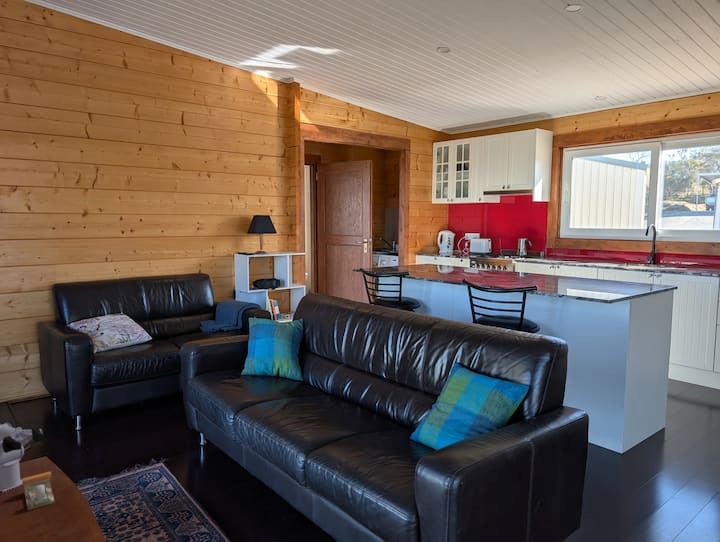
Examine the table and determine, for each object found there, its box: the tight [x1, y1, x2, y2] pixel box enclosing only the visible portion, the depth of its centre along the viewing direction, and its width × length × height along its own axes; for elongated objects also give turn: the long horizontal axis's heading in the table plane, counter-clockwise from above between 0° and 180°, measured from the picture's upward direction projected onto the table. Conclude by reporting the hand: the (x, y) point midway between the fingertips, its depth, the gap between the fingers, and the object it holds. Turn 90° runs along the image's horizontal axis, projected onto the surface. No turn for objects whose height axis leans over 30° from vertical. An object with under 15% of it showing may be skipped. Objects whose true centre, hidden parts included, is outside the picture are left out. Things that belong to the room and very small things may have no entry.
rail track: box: [23, 478, 56, 511], centre depth 188 cm, size 14×8×4 cm, turn 37°
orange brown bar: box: [21, 471, 52, 486], centre depth 191 cm, size 2×9×2 cm, turn 127°
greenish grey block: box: [33, 485, 48, 505], centre depth 183 cm, size 4×4×5 cm
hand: (31, 442), depth 184 cm, fingers open, 7 cm apart
